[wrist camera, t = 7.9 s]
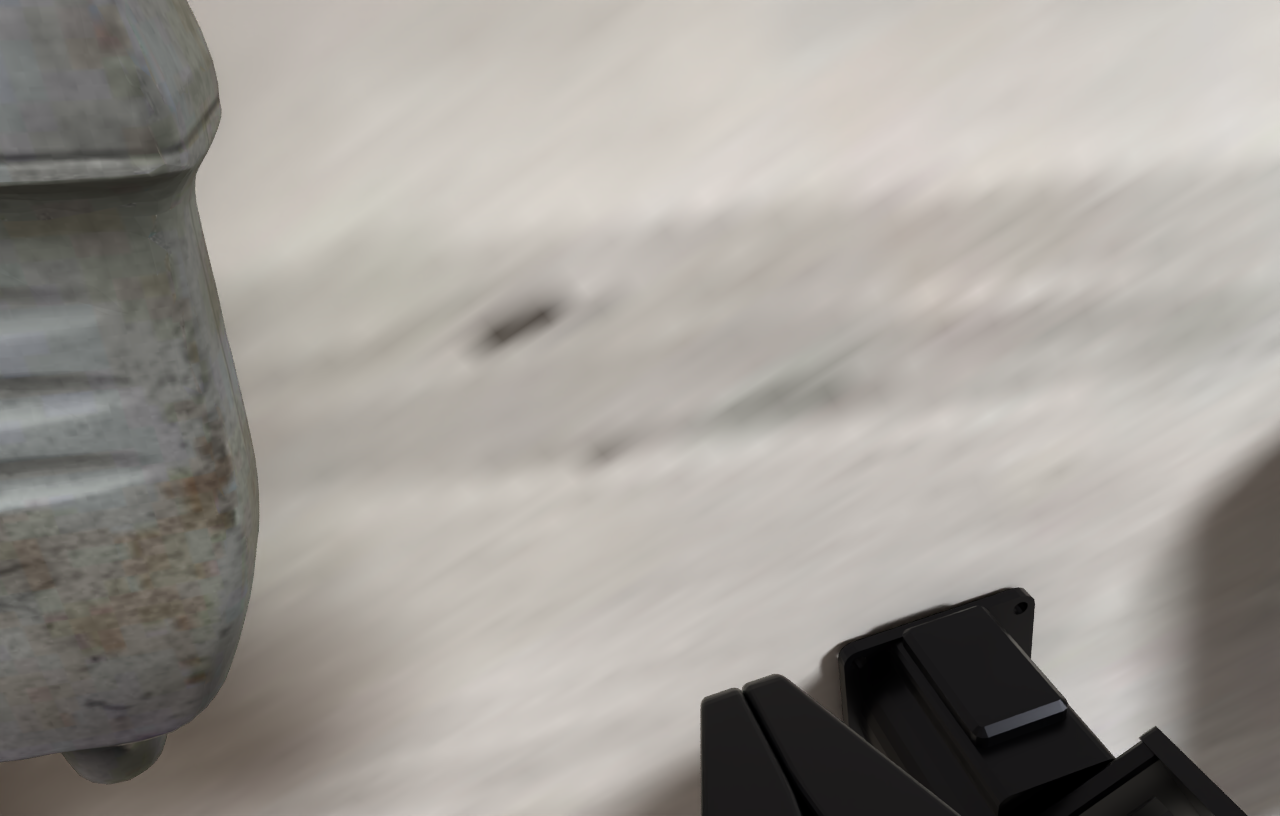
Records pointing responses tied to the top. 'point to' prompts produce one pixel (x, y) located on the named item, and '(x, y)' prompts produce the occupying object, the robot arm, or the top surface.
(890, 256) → the top surface
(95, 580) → the handheld device
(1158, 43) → the top surface
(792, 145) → the top surface
